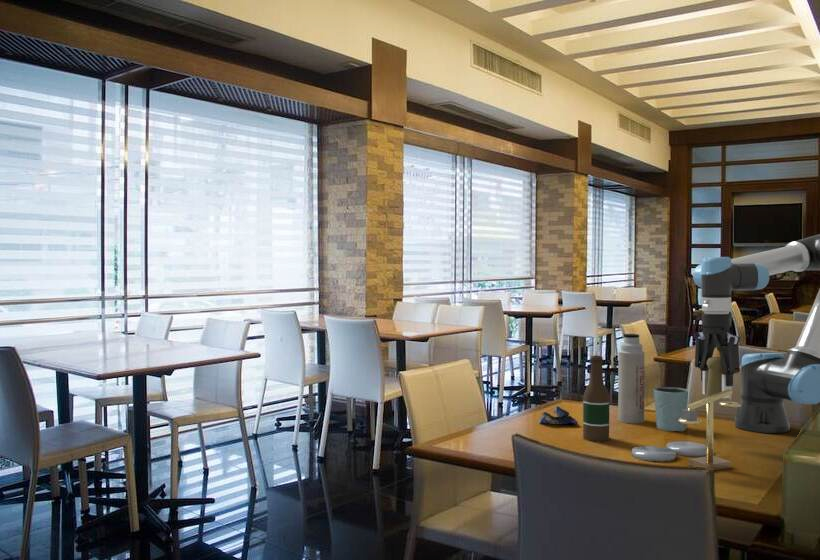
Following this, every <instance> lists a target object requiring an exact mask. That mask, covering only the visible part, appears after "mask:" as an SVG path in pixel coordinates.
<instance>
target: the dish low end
mask: <svg viewBox="0 0 820 560" xmlns="http://www.w3.org/2000/svg"><path fill="white" fill-rule="evenodd" d="M631 456H632V457H634V458H636V459H638V460H641V459H642V461H646V460H648V461H647V462H654V461H656V462H655V463H657V461H660V462H661V463H666V462H665V461H667V462H672V461H671V460H673V461H674V459H675V458H676V459H677V454H676V452H675V451H673V450H671V449H668V448H667V447H663V446H653V445H641V446H640V445H639V446H634V447H632V449H631ZM676 459H675V460H676ZM660 462H659V463H660Z"/></svg>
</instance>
